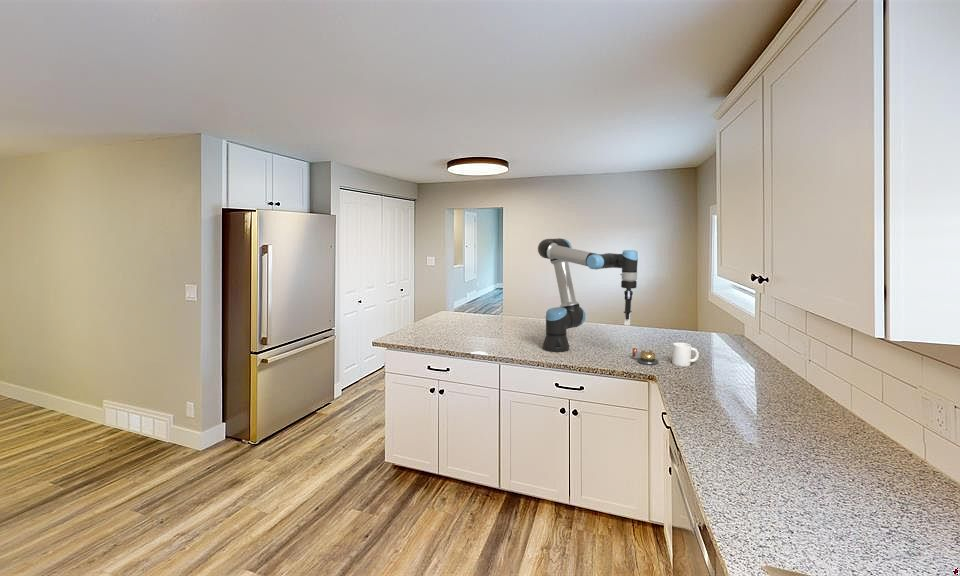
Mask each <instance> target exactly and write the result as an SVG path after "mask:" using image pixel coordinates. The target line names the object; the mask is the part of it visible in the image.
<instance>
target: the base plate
mask: <svg viewBox="0 0 960 576" xmlns="http://www.w3.org/2000/svg"><path fill="white" fill-rule="evenodd" d="M636 361H637V363H638V364H641V365H646V366H656V365H659V360H658V359H657V358H655V361H643V360H641V359H640V358H638V357H637V359H636Z"/></svg>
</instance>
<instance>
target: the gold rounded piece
mask: <svg viewBox="0 0 960 576" xmlns="http://www.w3.org/2000/svg"><path fill="white" fill-rule="evenodd" d="M631 356H632V357H634V358H637V359H638V358H640V359H641V360H643V361H655V359H656V353H655V352H653V350H649V351H646V350H643V349H642V350H640V351H638V349H637V348H636V347H635V348H634V347H633V348H632V355H631Z"/></svg>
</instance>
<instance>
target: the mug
mask: <svg viewBox="0 0 960 576" xmlns="http://www.w3.org/2000/svg"><path fill="white" fill-rule="evenodd" d="M692 352H694V353H695V357H694V358H692ZM671 357H672V358H671V360H672V361H671V363H672V365H673V366H676V367H679V368H680V367H681V368H688V367H690V366H691V363H694V362H696V361H698V359H699V357H700V353H699V351H698V350H697V348H695V347H692V344H690V343H686V342H673V343H672V355H671Z"/></svg>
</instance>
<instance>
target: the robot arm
mask: <svg viewBox="0 0 960 576" xmlns="http://www.w3.org/2000/svg"><path fill="white" fill-rule="evenodd" d="M537 253H538V255H539V256H540V257H541V258H544V259H548V260H549V261H550V263H551V264H552V265H553V267H554V272H555V277H556V278H555V279H556V282H557V287H558V292H559V298H560V303H561V304H560V306H558V307H551V308H548V309H547V311H546V313H545V314H546V315H545V337H544V339H543V340H544V341H543V343H542V350H545V351H546V352H553V353H554V352H555V353H562V352H567V351H569V350H570V343H569V341H568V337H567V329H572V328H578V327H580V326H582V325H583V324H584V322H585V321H586V311H585V309H583V308H582V307H581V306H580V303H579V302H578V301H577V299H576V296H575V289H574V284H573V280H572V276H571V269H570V265H569V263H571V264H576V265H581V266H583V267H584V266H585V267H588V268H589V269H591V270H601V269H613V268H615V269H621V273H620V276H621V283H620V285H621V286H620V287H621V288H622V289H625V290H624V300H625V303H624V311H623V314H624V323H623V324H624V326H631V313H633V312H632V310H631V309H632V306H631V305H632V300H633V293H634V291H632V289H637V287H638V286H637V284H638V283H637V280H638V261H639V257H638V256H639V255H638V251H637V250H633V249H632V250H630V249H629V250H628V249H627V250H626V249H624V250H622V253H614V252H613V253H611V252H607V253H606V252H605V253H601V254H600V253H595V252H591V251H586V250H582V249H581V250H580V249H576V248H573V247H572V245H571V242H570V241H568V240H567V239H565V238H560V237H559V238H545V239H543V240H541V241H540V242H539V244H538V245H537Z"/></svg>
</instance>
